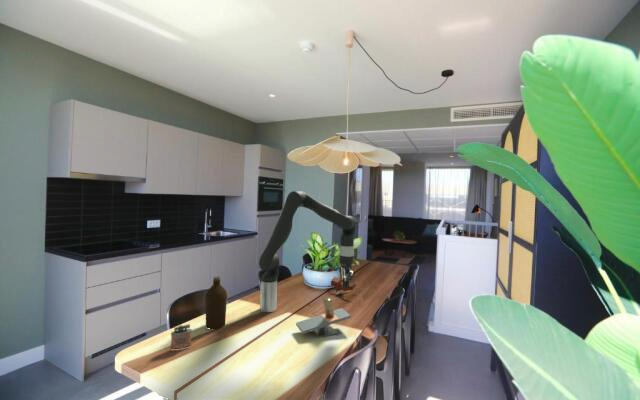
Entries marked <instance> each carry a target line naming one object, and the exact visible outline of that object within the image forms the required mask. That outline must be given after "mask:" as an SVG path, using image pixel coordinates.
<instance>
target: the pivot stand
mask: <svg viewBox="0 0 640 400" xmlns="http://www.w3.org/2000/svg"><path fill="white" fill-rule="evenodd" d="M312 332H313V334H315V335H316V337H317V338H318V339H322V338H328V337H334V336H338V332H337V331H336V329H334V328H333V327H332V326H331V325H328V326H325V327H322V328H319V329H316V330H313V331H312Z"/></svg>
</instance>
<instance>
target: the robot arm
mask: <svg viewBox="0 0 640 400" xmlns="http://www.w3.org/2000/svg"><path fill="white" fill-rule="evenodd" d="M299 208H306V209H309V211H312V212H314V213H315V214H316V215H318V216H319V217H320V218H322V219H324V220H325V221H328V222H329V223H332V224H334V225H335V226H337V227H338V228H340V229H342V233H341V235H340V238H339V240H340V241H339V253H338V258H339V259H338V260H339V261H338V263H339V264H340V265H339V266H338V272H339V275H340V278H341V279H342V280H343V285H342V286H343V287H345V288H349V283H350V282H351V281H352V280H353V278H354V275H355V271H353V270H352V265H353V264H354V261H355V259H354V257H355V248H354V247H355V246H354V244H355V239H354V238H355V237H354V236H355V232H356V225H357V224H356V220H355V217H354V216H353V215H345V214H342V213H341V212H339V210H337V209H335V208H332V206H331V207H330V206H328V205H326V204H324V203H322V202H320V201H318V200H316V199H315V198H313V197H311V196H310V195H309V194H308V193H306V192H304V191H302V190H292V191H291V192H289V193H288V194H287V196H286V200H285V201H284V205H283V207H282V212H281V214H280V216H279V218H278V220H277V222H276V224H275V226H274V229H273V232H272V233H271V236H270V238H269V241H268V243H267V244H266V247H265V248H264V250H263V251H262V253H261V254H260V256H259V259H258V266H259V269H261V270H262V271H265V272H264V273H263V274H262V276H261V280H260V281H261V283H260V284H261V286H260V293H259V309H260V312H261V313H272V312H275V311H276V310H277V299H278V296H277V295H278V292H277V291H278V277H279V275H280V257H279V255H278V254H277V252H278V251H279V250H280V248H281V247H282V246H283V245H285V243H286V242H287V240H288V238H289V236H290V235H291V232H292V229H293V219H294V216H295V215H296V214H295V213H296V212H297V210H298V209H299Z"/></svg>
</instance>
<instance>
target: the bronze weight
mask: <svg viewBox="0 0 640 400" xmlns="http://www.w3.org/2000/svg"><path fill="white" fill-rule="evenodd" d="M323 307H324V313H325V316H326V318H328V319H330V318H333V317H334V310H335V309H334V303H333V298H332V297H324V299H323Z"/></svg>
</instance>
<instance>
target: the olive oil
mask: <svg viewBox="0 0 640 400" xmlns="http://www.w3.org/2000/svg"><path fill="white" fill-rule="evenodd" d="M227 300H228V293H227V290H226V288H225V287H224V286H223V285H221V276H218V275H217V276H213V280H212V285H211V286H210V287H209V289H207V291H206V292H205V296H204V303H205V304H204V305H205V307H204V308H205V328H206V327H207V328H210V329H215V330H219V329H218V328H220V329H222V328H224V327H225V326H226V315H227V314H226V313H227V302H228V301H227ZM223 326H224V327H223ZM221 327H222V328H221ZM207 328H206V329H207ZM210 329H209V330H210Z"/></svg>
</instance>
